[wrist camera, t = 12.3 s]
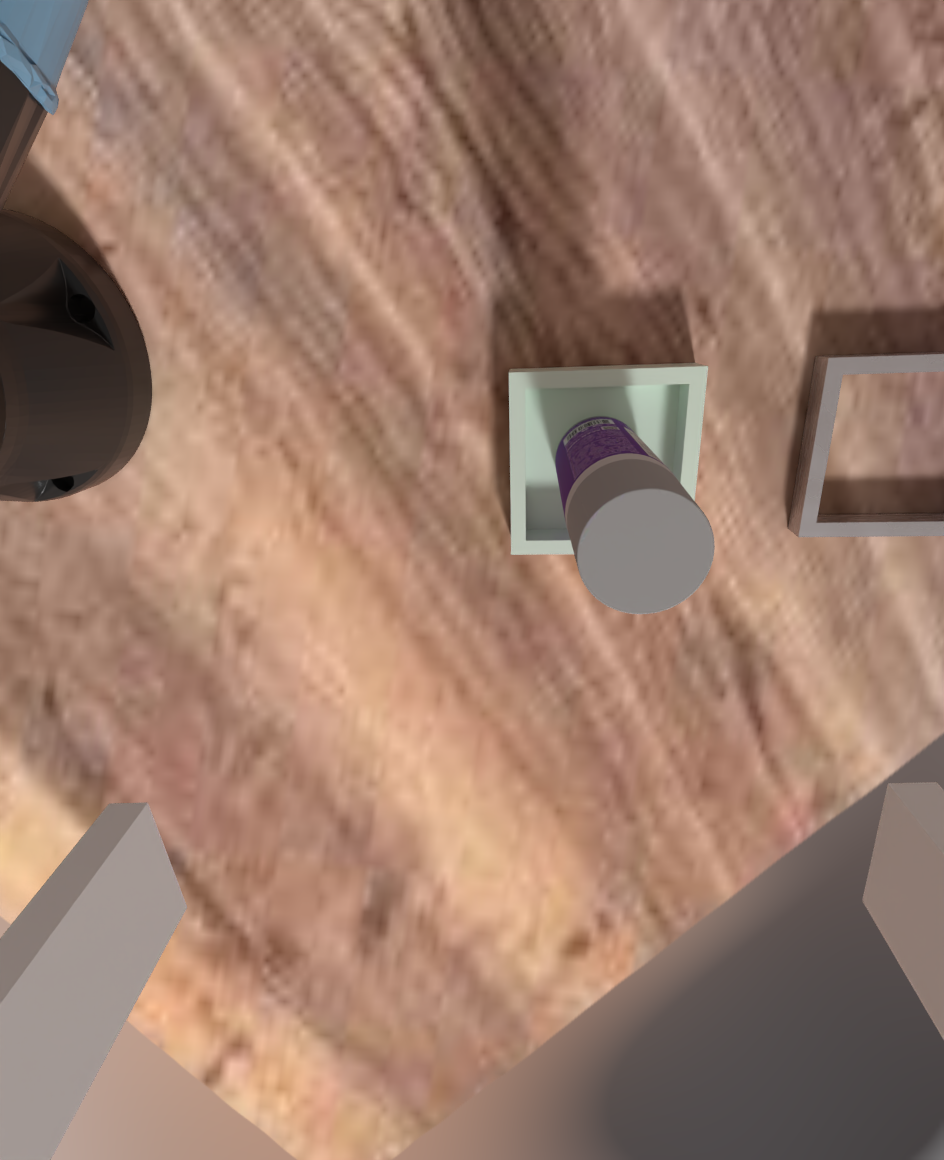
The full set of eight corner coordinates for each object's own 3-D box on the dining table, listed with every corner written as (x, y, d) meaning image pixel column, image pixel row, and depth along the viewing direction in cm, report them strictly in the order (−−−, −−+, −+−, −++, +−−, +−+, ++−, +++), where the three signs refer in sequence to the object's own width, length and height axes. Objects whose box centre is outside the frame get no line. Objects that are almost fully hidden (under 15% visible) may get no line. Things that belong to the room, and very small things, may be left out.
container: (545, 490, 35) (556, 600, 22) (567, 406, 34) (596, 468, 20) (626, 509, 35) (689, 631, 22) (653, 426, 34) (741, 502, 20)
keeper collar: (787, 528, 36) (798, 537, 34) (815, 356, 32) (828, 357, 31) (961, 526, 35) (979, 535, 33) (1009, 349, 31) (1031, 351, 30)
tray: (512, 539, 37) (511, 554, 35) (509, 368, 34) (508, 372, 31) (679, 538, 36) (689, 553, 34) (695, 362, 33) (708, 366, 30)
